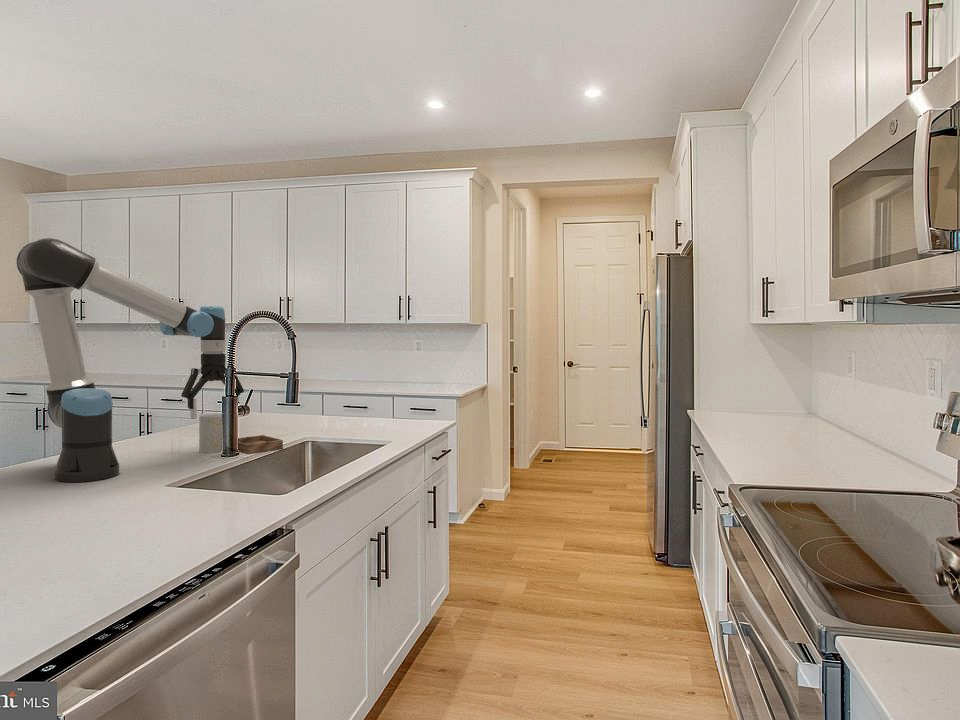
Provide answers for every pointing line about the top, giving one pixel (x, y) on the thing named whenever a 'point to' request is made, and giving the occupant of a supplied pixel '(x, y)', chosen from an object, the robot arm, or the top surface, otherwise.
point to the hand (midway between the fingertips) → (213, 416)
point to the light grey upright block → (210, 433)
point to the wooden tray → (258, 444)
